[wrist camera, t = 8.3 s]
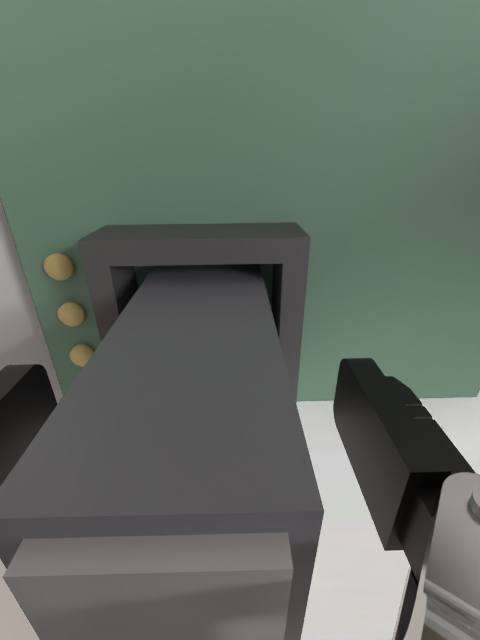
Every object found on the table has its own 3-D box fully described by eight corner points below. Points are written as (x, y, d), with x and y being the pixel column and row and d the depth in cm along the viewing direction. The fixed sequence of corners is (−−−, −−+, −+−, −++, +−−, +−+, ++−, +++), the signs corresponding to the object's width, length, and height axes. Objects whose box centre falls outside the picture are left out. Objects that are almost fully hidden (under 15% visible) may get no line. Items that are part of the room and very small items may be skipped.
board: (622, -46, 10) (805, -140, 7) (463, 384, 17) (516, 435, 14) (-55, -46, 9) (-195, -144, 6) (75, 393, 17) (39, 448, 14)
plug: (258, 262, 13) (333, 546, 3) (256, 349, 15) (301, 691, 5) (155, 263, 13) (-49, 557, 3) (166, 351, 14) (50, 700, 5)
